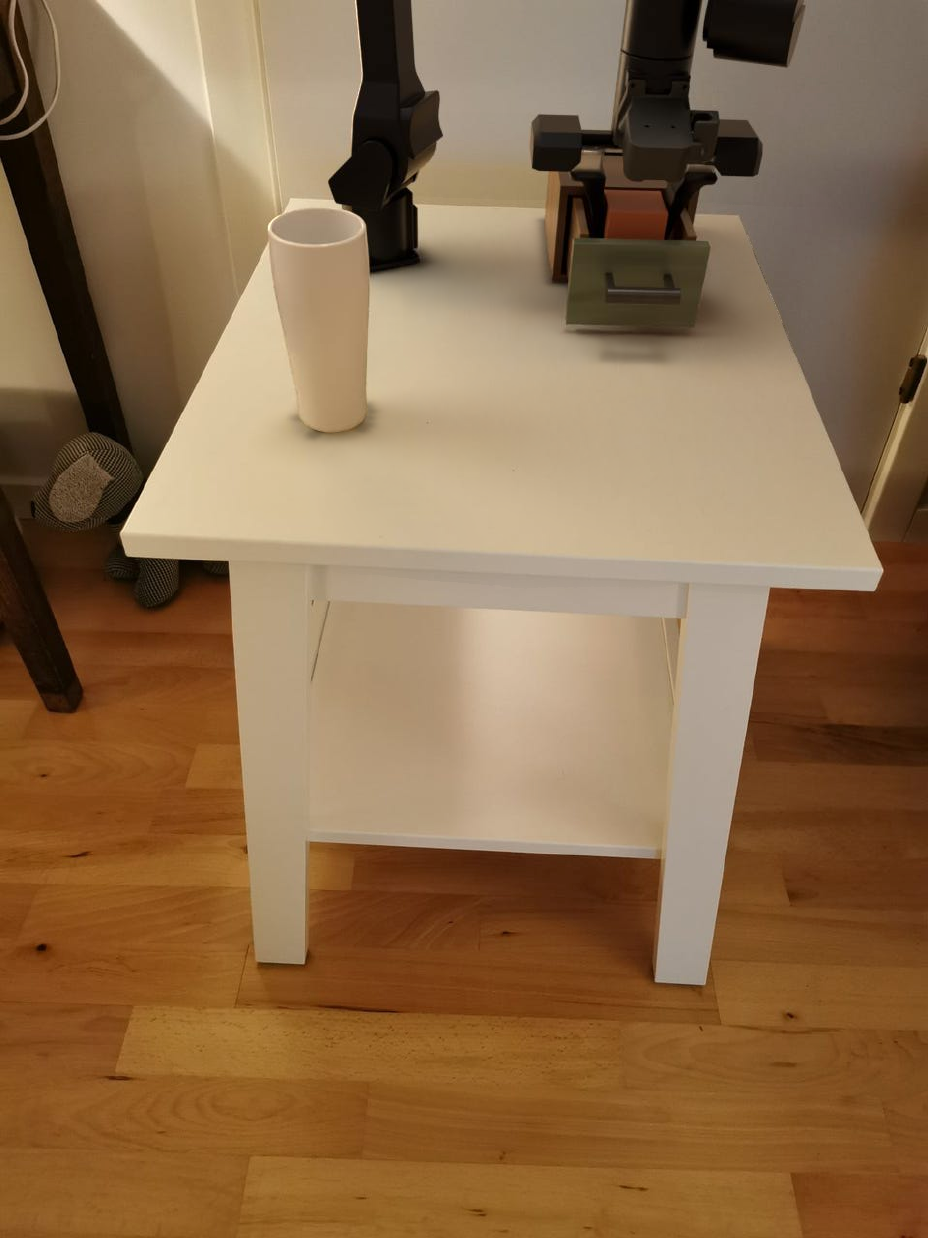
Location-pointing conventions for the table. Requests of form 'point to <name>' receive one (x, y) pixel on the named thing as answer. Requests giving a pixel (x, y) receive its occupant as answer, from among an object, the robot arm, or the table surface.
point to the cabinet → (564, 187)
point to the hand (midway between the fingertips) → (629, 246)
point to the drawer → (632, 274)
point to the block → (634, 215)
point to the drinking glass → (324, 311)
